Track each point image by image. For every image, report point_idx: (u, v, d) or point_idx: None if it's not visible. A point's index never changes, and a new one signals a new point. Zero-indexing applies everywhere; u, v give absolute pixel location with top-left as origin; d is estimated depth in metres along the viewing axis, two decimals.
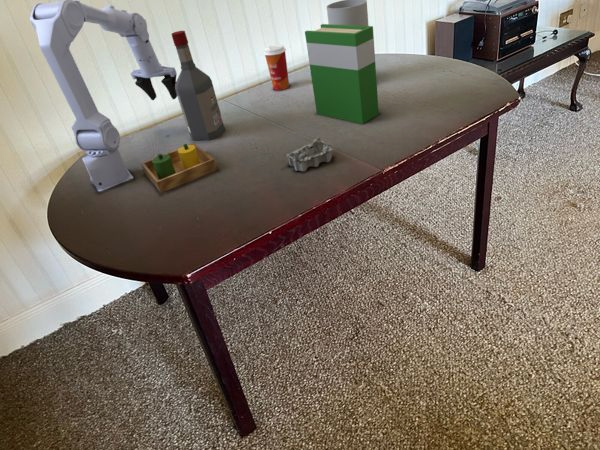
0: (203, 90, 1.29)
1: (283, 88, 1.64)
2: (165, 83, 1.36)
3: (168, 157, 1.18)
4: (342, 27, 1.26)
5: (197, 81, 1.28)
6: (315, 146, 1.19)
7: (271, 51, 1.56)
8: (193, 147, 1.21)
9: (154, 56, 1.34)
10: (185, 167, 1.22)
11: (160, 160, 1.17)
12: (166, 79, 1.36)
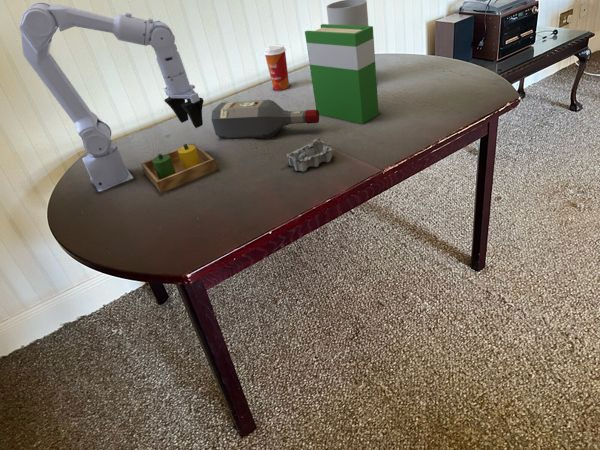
0: (266, 137, 1.33)
1: (283, 88, 1.64)
2: (184, 108, 1.16)
3: (168, 157, 1.18)
4: (342, 27, 1.26)
5: (274, 133, 1.31)
6: (315, 146, 1.19)
7: (271, 51, 1.56)
8: (193, 147, 1.21)
9: (180, 75, 1.15)
10: (185, 167, 1.22)
11: (160, 160, 1.17)
12: (186, 104, 1.16)
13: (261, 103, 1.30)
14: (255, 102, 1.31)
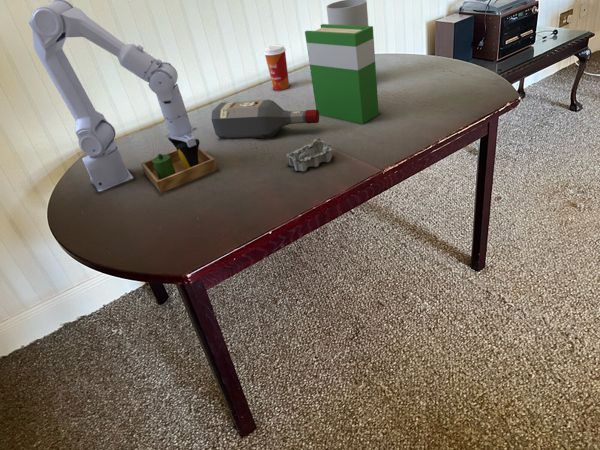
0: (266, 137, 1.32)
1: (283, 88, 1.64)
2: None
3: (168, 157, 1.18)
4: (342, 27, 1.26)
5: (274, 133, 1.31)
6: (315, 146, 1.19)
7: (271, 51, 1.56)
8: None
9: (180, 118, 1.14)
10: (185, 167, 1.22)
11: (160, 160, 1.17)
12: (180, 145, 1.16)
13: (261, 103, 1.30)
14: (255, 102, 1.31)
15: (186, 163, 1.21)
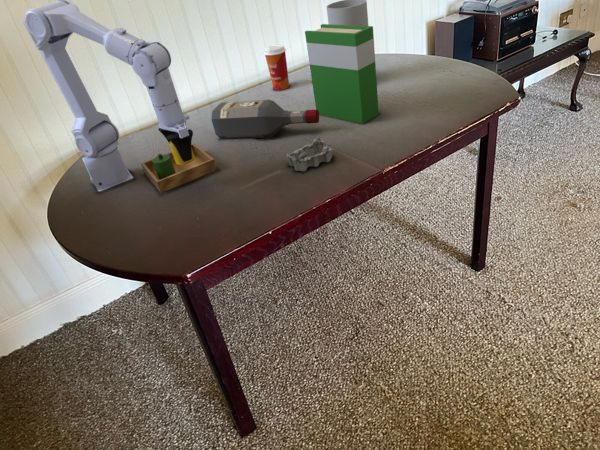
0: (266, 137, 1.32)
1: (283, 88, 1.64)
2: None
3: (168, 157, 1.18)
4: (342, 27, 1.26)
5: (274, 133, 1.31)
6: (315, 146, 1.19)
7: (271, 51, 1.56)
8: None
9: (170, 106, 1.01)
10: (177, 161, 1.09)
11: (160, 160, 1.17)
12: (172, 136, 1.03)
13: (261, 103, 1.30)
14: (255, 102, 1.31)
15: (178, 156, 1.08)
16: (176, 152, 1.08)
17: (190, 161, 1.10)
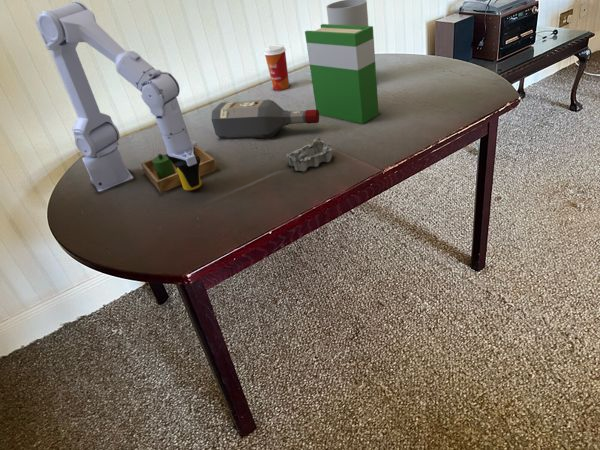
0: (266, 137, 1.32)
1: (283, 88, 1.64)
2: None
3: None
4: (342, 27, 1.26)
5: (274, 133, 1.31)
6: (315, 146, 1.19)
7: (271, 51, 1.56)
8: None
9: (178, 134, 1.03)
10: (185, 186, 1.11)
11: (160, 160, 1.17)
12: (179, 164, 1.05)
13: (261, 103, 1.30)
14: (255, 102, 1.31)
15: (186, 182, 1.10)
16: (184, 178, 1.09)
17: (197, 186, 1.11)
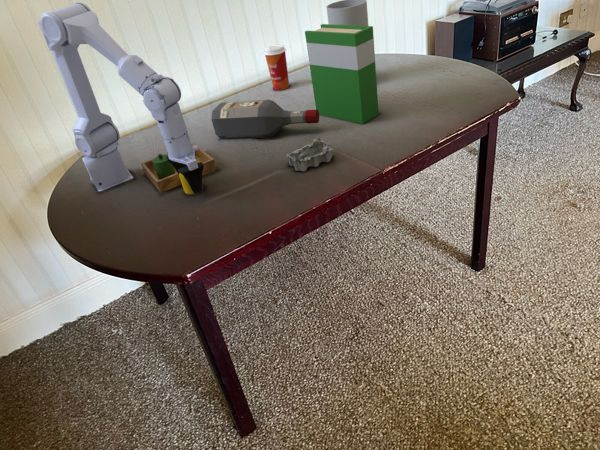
0: (266, 137, 1.32)
1: (283, 88, 1.64)
2: None
3: None
4: (342, 27, 1.26)
5: (274, 133, 1.31)
6: (315, 146, 1.19)
7: (271, 51, 1.56)
8: None
9: (180, 138, 1.03)
10: (187, 192, 1.12)
11: (160, 160, 1.17)
12: (183, 170, 1.04)
13: (261, 103, 1.30)
14: (255, 102, 1.31)
15: (188, 188, 1.11)
16: (186, 184, 1.10)
17: None
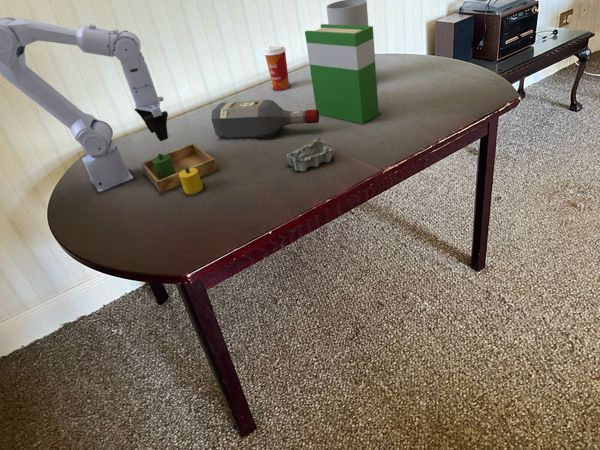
0: (266, 137, 1.32)
1: (283, 88, 1.64)
2: (147, 121, 1.14)
3: (168, 157, 1.18)
4: (342, 27, 1.26)
5: (274, 133, 1.31)
6: (315, 146, 1.19)
7: (271, 51, 1.56)
8: (195, 170, 1.11)
9: (145, 88, 1.12)
10: (187, 192, 1.12)
11: (160, 160, 1.17)
12: (148, 117, 1.13)
13: (261, 103, 1.30)
14: (255, 102, 1.31)
15: (188, 188, 1.11)
16: (186, 184, 1.10)
17: None
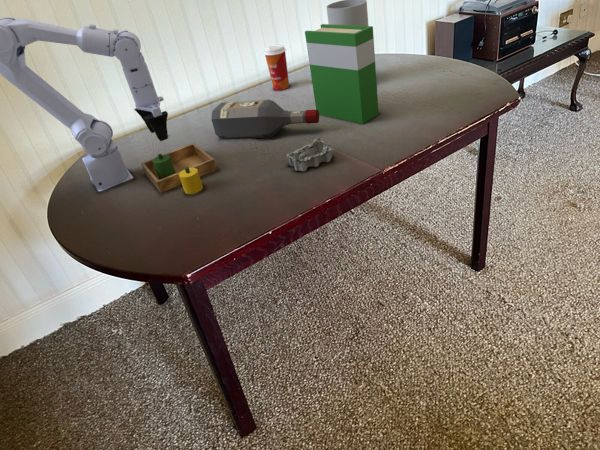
0: (266, 137, 1.32)
1: (283, 88, 1.64)
2: (147, 121, 1.14)
3: (168, 157, 1.18)
4: (342, 27, 1.26)
5: (274, 133, 1.31)
6: (315, 146, 1.19)
7: (271, 51, 1.56)
8: (195, 170, 1.11)
9: (145, 88, 1.12)
10: (187, 192, 1.12)
11: (160, 160, 1.17)
12: (148, 117, 1.13)
13: (261, 103, 1.30)
14: (255, 102, 1.31)
15: (188, 188, 1.11)
16: (186, 184, 1.10)
17: None
